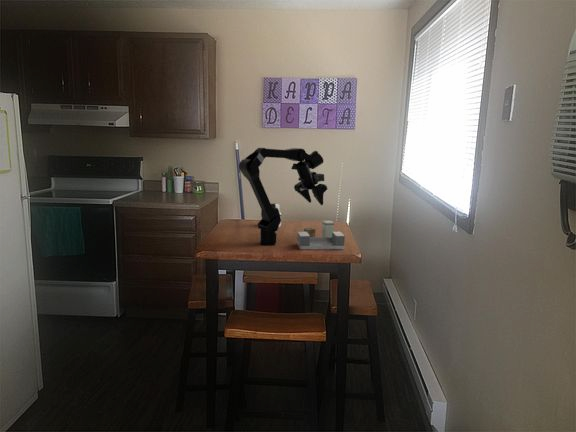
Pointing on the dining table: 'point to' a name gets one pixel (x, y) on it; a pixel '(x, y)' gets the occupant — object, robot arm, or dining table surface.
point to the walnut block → (310, 231)
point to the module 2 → (338, 238)
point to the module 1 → (303, 239)
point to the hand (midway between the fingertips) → (316, 203)
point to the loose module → (327, 228)
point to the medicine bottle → (278, 209)
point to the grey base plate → (321, 243)
